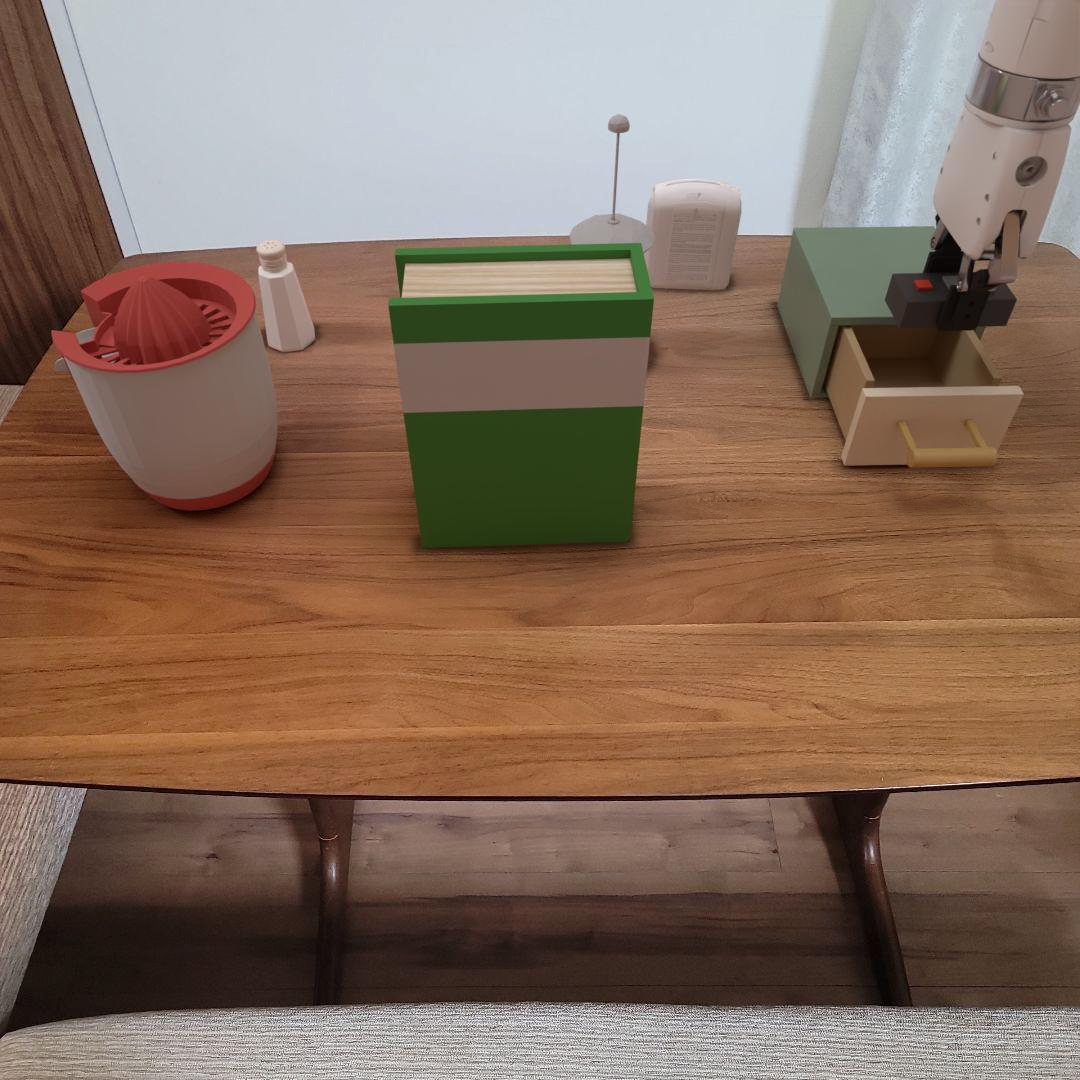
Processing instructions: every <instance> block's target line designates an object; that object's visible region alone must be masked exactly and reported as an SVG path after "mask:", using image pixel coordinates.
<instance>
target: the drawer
mask: <svg viewBox="0 0 1080 1080" xmlns="http://www.w3.org/2000/svg"><path fill="white" fill-rule="evenodd" d="M1002 380H1003V376H1002V375H1001V373H1000V371H999V370H998V368H997V367H996V365H995V363H994V362H993V360H992V359H991V357H990V355H989V354H988V352H987V350H986V349H985V346H984V345H983V344H982V342H981V340H979V338H978V337H977V335H976V333H975V332H974V330H970V331H940V330H939V329H938V328H903V329H900V328H899V326H898V325H897V324H894V325H839V327H838V330H837V334H836V338H835V341H834V345H833V349H832V352H831V356H830V360H829V364H828V367H827V371H826V375H825V378H824V382H823V383H824V385H825V388H826V391H827V393H828V396H829V398H828V399H829V401H830V404H831V406H832V410H833V412H834V414H835V417H836V420H837V422H838V424H839V428H840V430H841V432H842V435H843V438H844V441H845V443H844V445H843V450H842V453H841V456H840V458H841V461H842V463H843V466H893V465H894V466H897V465H899V466H901V465H903V466H905V465H906V466H908V467H909V468H965V467H973V468H975V467H994V466H995V465H996V464H997V463H998V457H999V456H998V450H999V449H1000V446H1001V444H1002V443H1003V440H1004V438H1005V436H1006V434H1007V432H1008V429H1009V427H1010V425H1011V423H1012V421H1013V418H1014V417H1015V415H1016V413H1017V411H1018V408H1019V406H1020V404H1021V402H1022V400H1023V397H1024V396H1025V393H1024V392H1023V390H1022V388H1021V387H1020V385H1001V383H1002Z"/></svg>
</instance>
